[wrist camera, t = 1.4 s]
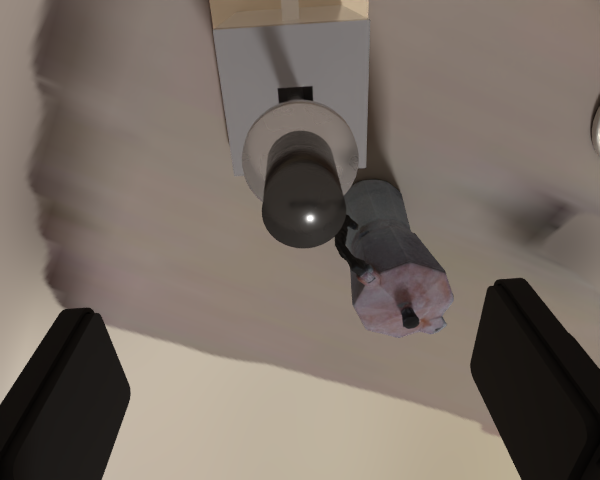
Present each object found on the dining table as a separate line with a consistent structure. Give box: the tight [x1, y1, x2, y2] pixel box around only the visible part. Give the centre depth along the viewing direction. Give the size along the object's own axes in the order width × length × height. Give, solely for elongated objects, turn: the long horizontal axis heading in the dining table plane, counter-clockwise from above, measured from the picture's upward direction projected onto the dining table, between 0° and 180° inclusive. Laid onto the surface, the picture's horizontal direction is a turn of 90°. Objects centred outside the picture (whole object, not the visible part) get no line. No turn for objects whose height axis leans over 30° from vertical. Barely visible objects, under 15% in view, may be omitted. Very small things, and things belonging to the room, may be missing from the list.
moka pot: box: [335, 180, 454, 338], centre depth 45 cm, size 10×15×20 cm, turn 51°
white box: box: [209, 0, 370, 176], centre depth 37 cm, size 15×19×18 cm
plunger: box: [242, 86, 359, 248], centre depth 26 cm, size 8×8×23 cm
